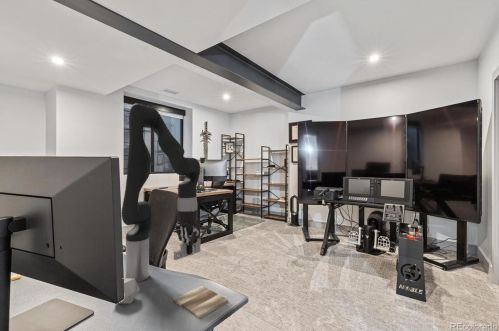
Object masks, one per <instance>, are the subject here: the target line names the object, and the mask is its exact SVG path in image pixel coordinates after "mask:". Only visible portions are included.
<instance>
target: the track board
mask: <svg viewBox="0 0 499 331" xmlns="http://www.w3.org/2000/svg"><path fill="white" fill-rule="evenodd" d="M228 299H229V298H226V297H224V296H222V295H221V294H218V293H217V292H215V291H213V290H211V289H209V288H208V287H206V286H204V285H200V286H198V287H196V288H194V289H192V290H189V291H188V292H186V293H184V294H181V295H179V296H177V297H174V298H173V303H176V304H177V305H179V306H180V307H181V308H183V309H184V310H185V311H187V312H189V313H190V314H191V315H193V316H194V317H196V318H198V319H201V318H203V317H205V316H206V315H207V314H210V313H211V312H213V311H215V310H216V309H218V308H219V307H221V306H223V305H225V304H227V303H228V302H229V300H228Z"/></svg>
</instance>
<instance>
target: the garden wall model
mask: <svg viewBox="0 0 499 331" xmlns="http://www.w3.org/2000/svg"><path fill="white" fill-rule="evenodd" d="M190 240H191V239H189V241H190ZM201 241H202V240H201V238H198V240H197V243H194V244H193V252H192V254H190V255H188V254H187V242H185V243H184V244H183V243H180V244H179V247H180V249H179V250H177V251H173V252H172V253H173V260H175V261H177V260H180V259H183V258H186V257H189V256H193V255H195V254H198V253H200V252H201Z"/></svg>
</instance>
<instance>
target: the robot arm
mask: <svg viewBox="0 0 499 331" xmlns="http://www.w3.org/2000/svg"><path fill="white" fill-rule="evenodd" d="M128 114H129V115H128V135H129V140H128V157H127V165H126V182H125V191H124V195H123V201H122V208H121V220H122V222H123V223H124V224H125V225H126V226H132V225H134V226H133V227H132V228H131V229H130V230H128V231H127V233H126V234H125V279H135V280H136V282H137V283H138V282H142V281H145V280H147V279H148V278H149V276H150V234H151V231H152V219H153V218H152V216H153V214H152V213H153V212H152V206H151V205H150V203H149V202H147V201H145V200H144V201H143V200H142V201H139V197H140V193H141V191H142V188H143V187H144V185H145V184H146V182H147V181H148V179H149V177H150V174H151V169H152V157H151V153H150V151H149V149H148V146H147V144H146V142H145V136H144V128H148V129H150V130H152V132H153V133H155V134H156V136H157V142H158V146H159V148H160V149H161V151H162V152H163V154H164V155H165V156H166V157H167V158H168V160H169V164H170V165H171V168H172V170H173V171H174V173H175V174H176V175H178V176H181V177H184V180H183V181H181V182H179V183H178V185H177V208H176V209H177V211H176V212H177V222H178V223H179V225H177V226H176V225H175V232H176V233H177V237H178V240H179V242H181V244H184V243H185V242H187V254H188V255H189V256H191V255H190V254H192V252H193V244H194V243H197V240H198V239H200V234H201V230H200V229H199V230H198V229H197V226H196V222H197V221H198V200H197V199H198V198H197V189H198V188H197V186H198V182H199V178H200V174H201V164H200V161H199V160H198V159H197V158H195V157H185V156H184V155H185V149H184V147H183V146H182V145H181V143H179V141H178V140H177V139H176V138H175V136H174V134H173V133H171V131H170V130H169V128H168V127H167V124H166V122H165V121H164V119H163V117H162V116H161V113H159V111H158V110H157V109H156V108H154V107H152V106H148V105H146V104H145V105H144V104H142V103H134V104H133V105H132V106H130V110H129V113H128ZM189 240H190V241H189Z"/></svg>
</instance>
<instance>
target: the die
mask: <svg viewBox="0 0 499 331" xmlns="http://www.w3.org/2000/svg"><path fill="white" fill-rule="evenodd" d="M123 279H124V293H125V299H124V300H123V301H122V302H120V303H119V304H120V305H124V304H127V305H128V304H129V305H131V304H132V303H133V301H134V300H135V299H136V297H137V295H138V293H139V292H140V291H141V290H140V289H141V288H140V287H139V285H138V282H136V280H135V279H126V278H123ZM119 304H118V305H119Z"/></svg>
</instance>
